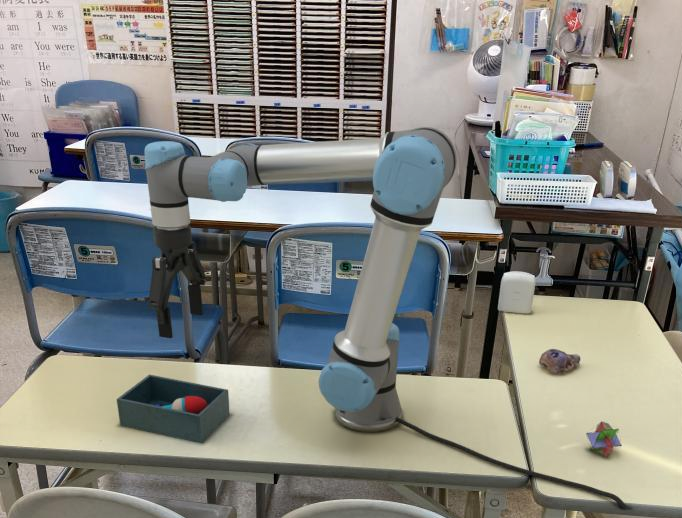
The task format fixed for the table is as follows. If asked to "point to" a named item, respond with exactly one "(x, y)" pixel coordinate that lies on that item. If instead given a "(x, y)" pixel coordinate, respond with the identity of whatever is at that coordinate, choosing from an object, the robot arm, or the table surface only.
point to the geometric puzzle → (604, 438)
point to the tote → (155, 390)
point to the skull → (559, 361)
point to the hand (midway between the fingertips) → (181, 325)
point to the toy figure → (188, 404)
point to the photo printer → (516, 292)
